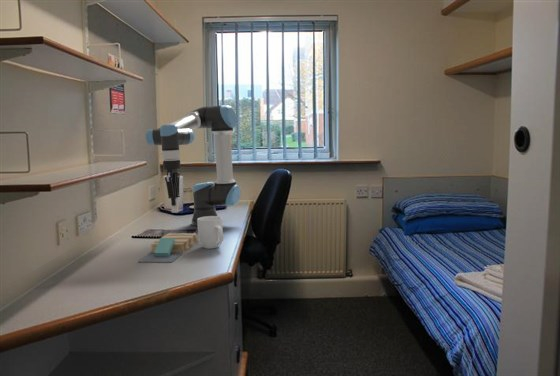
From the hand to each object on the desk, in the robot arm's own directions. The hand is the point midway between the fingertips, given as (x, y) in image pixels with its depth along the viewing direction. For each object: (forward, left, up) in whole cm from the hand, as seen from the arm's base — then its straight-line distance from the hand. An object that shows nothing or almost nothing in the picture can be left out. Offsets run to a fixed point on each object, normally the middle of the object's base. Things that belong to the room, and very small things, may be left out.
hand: (175, 212), depth 205 cm
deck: (+2, 0, -16) cm, 16 cm away
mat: (+19, 0, -16) cm, 25 cm away
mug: (+2, +17, -16) cm, 23 cm away
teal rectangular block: (+14, 0, -13) cm, 19 cm away
